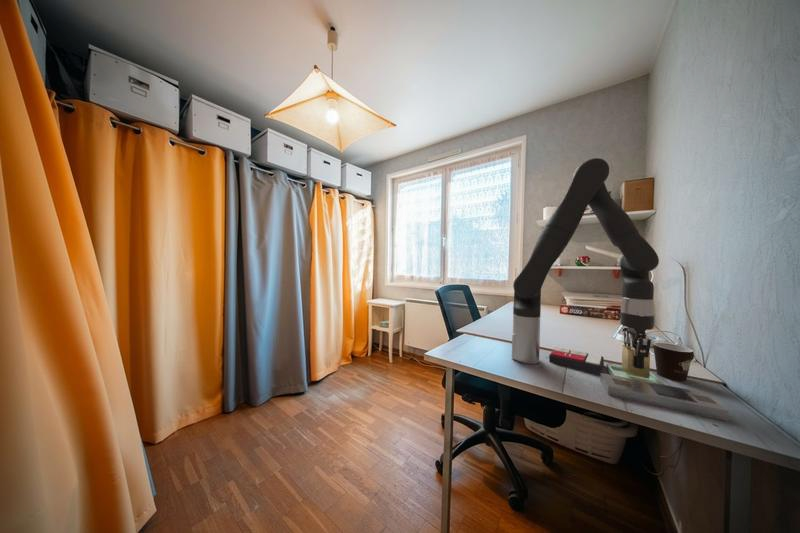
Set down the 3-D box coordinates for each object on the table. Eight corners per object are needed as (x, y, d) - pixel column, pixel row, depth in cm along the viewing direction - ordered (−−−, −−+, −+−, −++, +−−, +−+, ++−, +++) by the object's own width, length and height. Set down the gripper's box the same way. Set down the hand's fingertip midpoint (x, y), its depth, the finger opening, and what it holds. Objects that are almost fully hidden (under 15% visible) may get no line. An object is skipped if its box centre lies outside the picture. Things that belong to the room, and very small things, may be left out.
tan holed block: (627, 374, 74) (628, 349, 74) (621, 368, 78) (622, 344, 78) (649, 378, 72) (650, 352, 71) (642, 371, 76) (643, 347, 76)
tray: (617, 382, 73) (617, 378, 73) (606, 368, 83) (606, 364, 83) (668, 393, 67) (668, 387, 67) (650, 376, 77) (650, 371, 77)
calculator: (555, 345, 96) (603, 354, 85) (555, 356, 96) (603, 366, 85) (548, 353, 88) (601, 363, 77) (549, 364, 88) (601, 376, 77)
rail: (608, 394, 66) (608, 385, 66) (599, 380, 74) (600, 372, 74) (728, 421, 56) (728, 410, 56) (703, 401, 64) (704, 392, 64)
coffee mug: (663, 380, 75) (664, 349, 74) (645, 368, 83) (646, 341, 82) (714, 387, 71) (715, 355, 70) (690, 374, 79) (691, 345, 78)
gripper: (614, 307, 83) (612, 354, 83) (629, 315, 70) (627, 371, 70) (643, 309, 79) (641, 358, 79) (665, 318, 66) (662, 377, 67)
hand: (634, 364), depth 75 cm, fingers closed on tan holed block, 5 cm apart
